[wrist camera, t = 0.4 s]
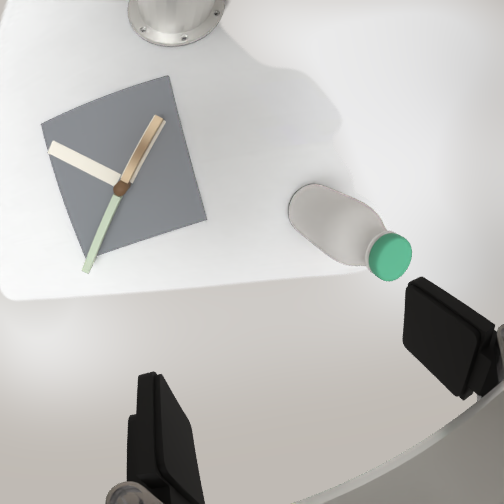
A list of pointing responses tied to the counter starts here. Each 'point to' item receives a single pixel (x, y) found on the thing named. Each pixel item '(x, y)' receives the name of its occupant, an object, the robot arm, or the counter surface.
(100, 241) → the fence hinged panel
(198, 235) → the counter surface
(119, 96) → the board
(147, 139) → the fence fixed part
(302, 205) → the milk bottle
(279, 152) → the counter surface
